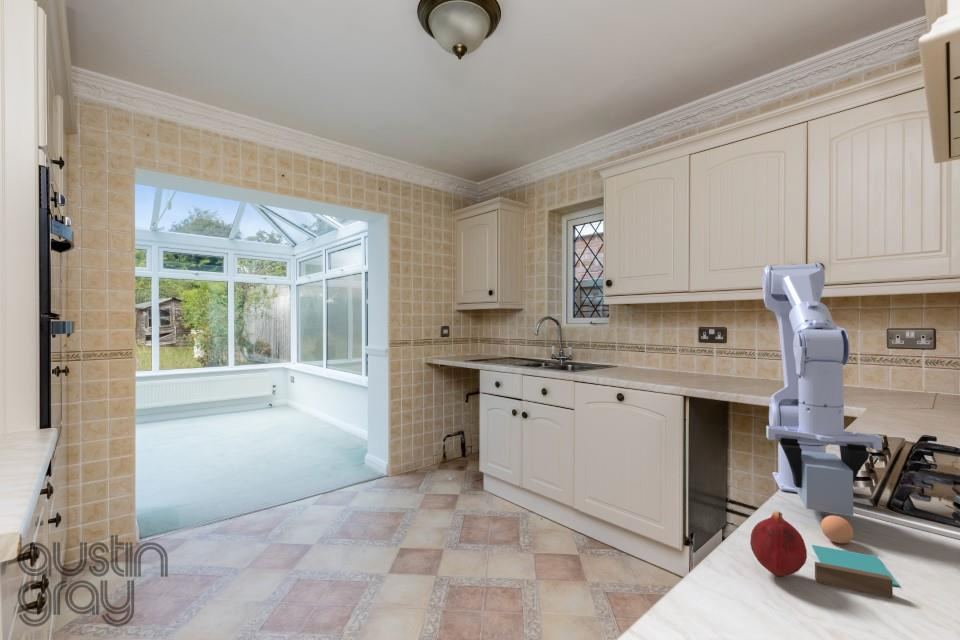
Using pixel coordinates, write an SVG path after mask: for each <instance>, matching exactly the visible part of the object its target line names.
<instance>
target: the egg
mask: <svg viewBox="0 0 960 640" xmlns="http://www.w3.org/2000/svg"><path fill="white" fill-rule="evenodd" d="M820 528H821V531H822V533H823V535H824V536H825V537H826V538H827V539H828V540H829V541H831V542H833V543H837V544H847V543H849V542H850V541H852V539H853V537H854V533H855V532H854V529H853V527H852V525H851V523H850V522H849V521H848V520H847V519H845V518H843V517H842V516H838V515H828V516H825V517H824V518H823V519H822V520H821V523H820Z"/></svg>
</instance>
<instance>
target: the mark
mask: <svg viewBox="0 0 960 640" xmlns="http://www.w3.org/2000/svg"><path fill="white" fill-rule="evenodd" d="M811 547H812V549H813V551H814V553H815V554H816V557H817V558H818V561H819V562H820V563H825V564H830V565H835V566H840V567H846V568H851V569H856V570H861V571H867V572H872V573H877V574H882V575H887V576H890V578H891V579H892V580H893V587H897V588H900V584H899V583H898V582H897V581H896V580H895V578H894V576H892V574H891V573H890V571H889V570H888V569H887V568H886V567H885V565H884V564H883V562H881V560H880V559H879V557H878V556H877V555H876V556H875V555H871V554H864V553H861V552H860V553H859V552H854V551H850V550H849V551H848V550H843V549H837V548H832V547H827V546H821V545H816V544H815V545H814V544H811Z"/></svg>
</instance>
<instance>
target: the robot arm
mask: <svg viewBox="0 0 960 640" xmlns="http://www.w3.org/2000/svg"><path fill="white" fill-rule="evenodd" d="M825 275H826V273H825V267H824V266H823V265H822V264H821V263H820V262H815V263H805V264H804V263H803V264H786V265H782V264H781V265H769V264H768V265H766V266H765V267H764V268H763V270H762V280H761V281H762V282H761V283H762V297H763V303H764V306H765V309H767V310H769V311H771V312H772V313H774V315H775V318H776V320H777V324H778V331H779V344H780V352H781V362H782V363H781V364H782V365H781V367H782V375H783V385H784V387H783V388H781V389H779V390H777V391H776V392H775V393H773V394H772V395H771V397H770V398H769V402H768V404H769V409H768V422H769V425H766V431H765V432H766V438H767V440H769V441H776V440H778V445H777V452H778V453H777V462H778V463H777V468H778V470H777V471H778V472H776V471H773V472H772V474H771V475H772V476H773V478H774V479H775V482H776V484H777V485H778V488H779V489H780V490H781V488H782V487H783V486H784V485H785V484H786V483H787V485H786V486H784V487H783V488H782V490H781V491H785V492H790V493H791V492H792V493H797V491H796V490H795V486H796V487H797V488H801V486H802V479H801V454H802V451H810V452H820V453H827V446H829V445H830V446H831V445H832V446H839V452H840V454H839V455H840V459H841V460H842V461H843V462H844V463H845V464H846V465H847V466H848V467H849V468H850V469H851V470H852V471H853V484H854V483H855V480H856V478H857V476H858V474H859V472H860V470H861V468H862V467H863V465H865V463H866V462H867V461H868V460H869V457H870V452H869V451H868V450H867V449H871V450H874V451H883V437H882V436H879V435H878V434H871V433H861V432H856V431H848V430H845V421H844V420H845V419H844V418H845V414H844V413H845V411H844V410H845V406H844V405H845V402H844V398H845V395H844V366H846V365H847V364H848V362H849V359H850V353H851V352H850V346H851V345H850V340H849V335H848V332H847V330H846V329H845V328H843V327H841V326H840V325H839V326H838V325H835V322H834V319H833V317H832V314H831V312H830V310H829V308H828V306H826V304H824V303H822V302H821V298H822V295H823V291H824V288H825V281H826V280H825V279H826V276H825Z"/></svg>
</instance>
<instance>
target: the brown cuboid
mask: <svg viewBox="0 0 960 640" xmlns="http://www.w3.org/2000/svg"><path fill="white" fill-rule="evenodd" d="M814 579H815V581H816V583H819V584H824V585H828V586H834V587H837V588H838V587H839V588H843V589H848V590H853V591H858V592H863V593H867V594H872V595H876V596H882V597H886V598H891V599H892V598H894V597H893V595H894V594H893V591H894V590H893V587H894V586H893V580H892V579H891V578H890V576H887V575H882V574H877V573H872V572H867V571H861V570H856V569H851V568H846V567H840V566H835V565H830V564H825V563H820V561H819V562H818V561H814Z"/></svg>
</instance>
